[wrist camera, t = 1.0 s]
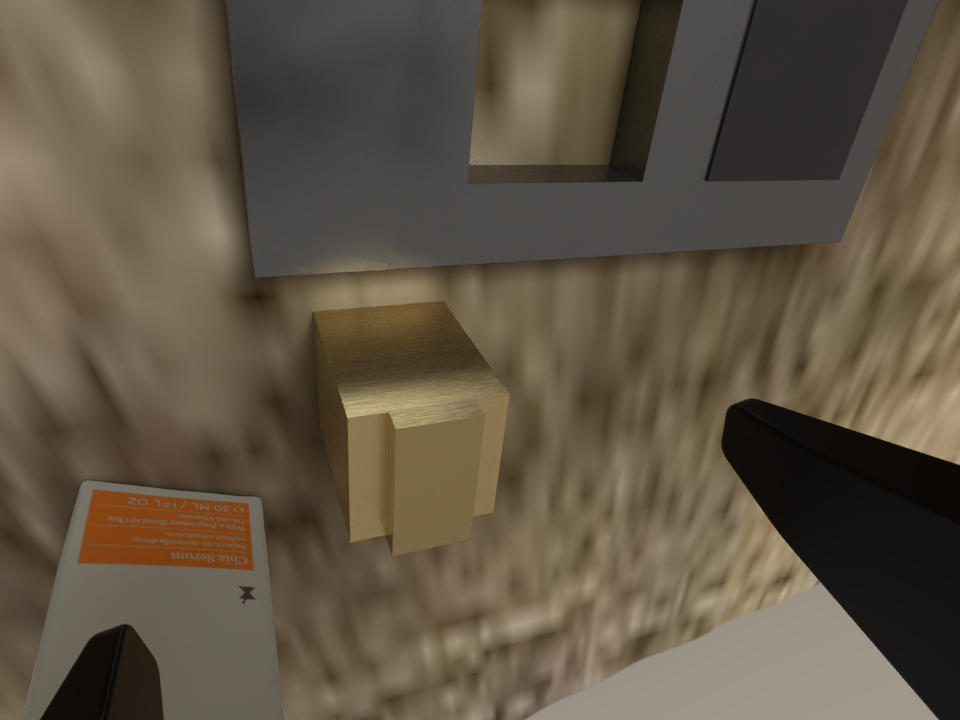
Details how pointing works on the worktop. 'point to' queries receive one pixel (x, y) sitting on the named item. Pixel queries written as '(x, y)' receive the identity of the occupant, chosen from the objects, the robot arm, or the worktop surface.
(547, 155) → the worktop surface
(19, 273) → the worktop surface
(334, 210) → the grey slotted board
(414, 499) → the stepped wooden chunk
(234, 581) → the skincare box
